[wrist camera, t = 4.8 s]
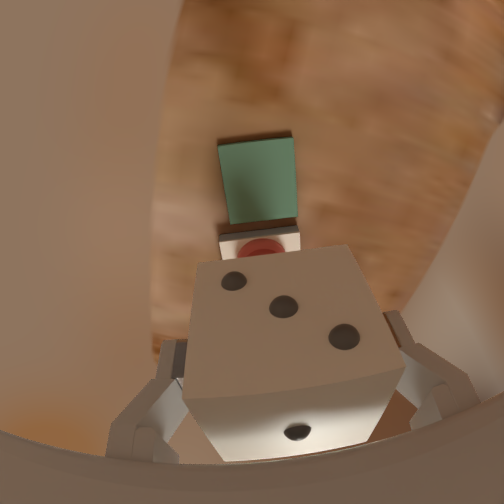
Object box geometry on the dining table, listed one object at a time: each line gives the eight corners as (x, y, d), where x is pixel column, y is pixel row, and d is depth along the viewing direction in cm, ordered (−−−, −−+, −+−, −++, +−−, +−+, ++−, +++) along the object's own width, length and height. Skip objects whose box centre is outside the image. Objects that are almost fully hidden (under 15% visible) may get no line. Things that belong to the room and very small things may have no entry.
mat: (217, 145, 20) (217, 146, 19) (292, 136, 20) (293, 138, 19) (230, 221, 23) (230, 224, 23) (296, 213, 23) (297, 216, 23)
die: (195, 255, 10) (176, 404, 6) (347, 236, 10) (414, 369, 5) (225, 358, 13) (226, 470, 9) (336, 343, 13) (366, 450, 9)
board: (219, 234, 24) (219, 242, 23) (297, 225, 24) (299, 232, 23) (245, 357, 33) (245, 365, 32) (299, 350, 33) (300, 358, 32)
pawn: (233, 241, 23) (235, 312, 17) (285, 235, 23) (302, 304, 17) (240, 280, 25) (243, 352, 19) (287, 274, 25) (302, 345, 19)
